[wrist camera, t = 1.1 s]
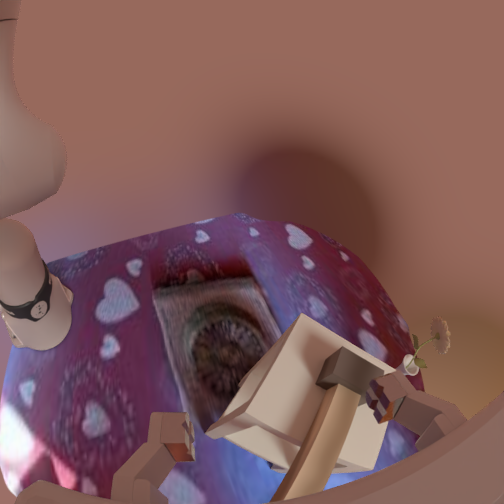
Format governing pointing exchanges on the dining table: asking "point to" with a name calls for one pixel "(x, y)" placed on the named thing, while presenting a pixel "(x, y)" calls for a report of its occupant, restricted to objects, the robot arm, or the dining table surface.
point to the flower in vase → (438, 337)
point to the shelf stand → (296, 402)
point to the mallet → (329, 423)
